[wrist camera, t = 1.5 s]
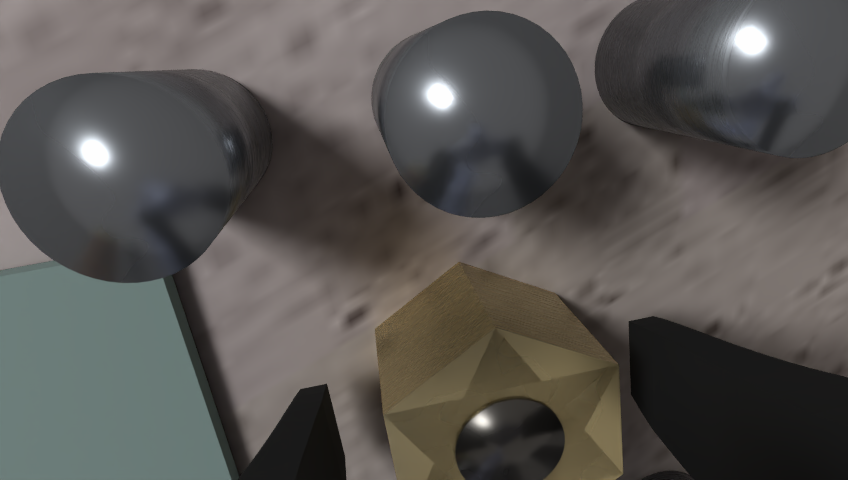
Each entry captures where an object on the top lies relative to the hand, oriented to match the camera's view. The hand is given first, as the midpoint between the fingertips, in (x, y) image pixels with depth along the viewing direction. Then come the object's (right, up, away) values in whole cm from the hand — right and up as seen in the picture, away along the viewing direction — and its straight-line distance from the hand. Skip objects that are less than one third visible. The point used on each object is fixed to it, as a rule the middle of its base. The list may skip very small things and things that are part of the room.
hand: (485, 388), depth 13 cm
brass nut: (0, +1, +1) cm, 2 cm away
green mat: (-10, -1, +1) cm, 10 cm away
